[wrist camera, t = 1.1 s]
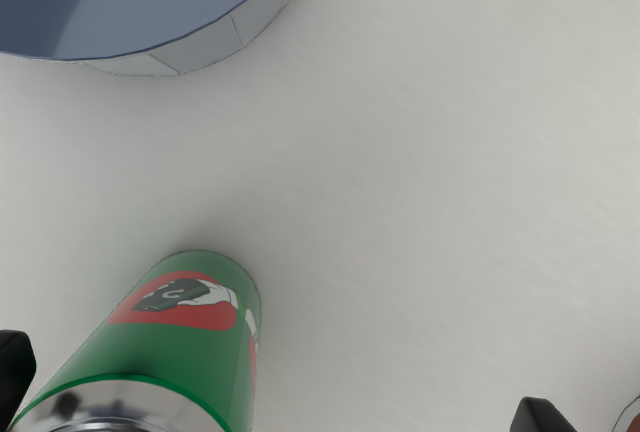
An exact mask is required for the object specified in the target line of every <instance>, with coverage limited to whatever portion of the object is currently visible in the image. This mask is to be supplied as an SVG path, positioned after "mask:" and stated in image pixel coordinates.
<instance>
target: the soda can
mask: <svg viewBox="0 0 640 432" xmlns="http://www.w3.org/2000/svg"><path fill="white" fill-rule="evenodd" d="M260 320H261V303H260V297H259V294H258V291H257V288H256V286H255V284H254V282H253V280H252V279H251V277H250V276H249V275H248V274H247V272H246V271H245V270H244V269H243V268H242V267H241V266H240V265H239V264H237V263H236V262H234V261H233V260H231V259H230V258H227V257H225V256H223V255H221V254H218V253H214V252H210V251H203V250H190V251H184V252H179V253H176V254H173V255H171V256H169V257H167V258H165V259H163V260H161V261H160V262H159V263H157V264H156V265H154V266H153V267H152V268H151V269H150V270H149V271H148V272H147V273H146V275H145V276H144V277H143V278H142V279H141V280H140V281H139V282H138V283H137V285H136V286H135V287H134V288H133V289H132V290H131V291H130V292H129V293H128V294H127V296H126V297H125V298H124V299H123V300H122V301H121V302H120V303H119V304H118V305H117V307H116V308H115V309H114V310H113V311H112V312H111V313H110V314H109V315H108V317H107V318H106V319H105V320H104V321H103V322H102V323H101V324H100V325H99V326H98V328H97V329H96V330H95V331H94V332H93V333H92V334H91V335H90V336H89V337H88V339H87V340H86V341H85V342H84V343H83V344H82V345H81V346H80V347H79V348H78V350H77V351H76V352H75V353H74V354H73V355H72V356H71V357H70V358H69V360H68V361H67V362H66V363H65V364H64V365H63V366H62V367H61V368H60V369H59V371H58V372H57V373H56V374H55V375H54V376H53V377H52V378H51V379H50V380H49V382H48V383H47V384H46V385H45V386H44V387H43V388H42V389H41V390H40V391H39V393H38V394H37V395H36V396H35V397H34V398H33V399H32V400H31V401H30V403H29V404H28V405H27V406H26V407H25V408H24V409H23V410H22V411H21V412H20V414H19V415H18V416H17V417H16V418H15V419H14V421H13V422H12V424H11V425H10V426H9V428H8V429H7V431H6V432H252V424H253V411H254V398H255V385H256V372H257V359H258V346H259V333H260Z"/></svg>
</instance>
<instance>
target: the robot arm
mask: <svg viewBox="0 0 640 432" xmlns="http://www.w3.org/2000/svg"><path fill="white" fill-rule="evenodd" d="M35 373H36V360H35V356H34V353H33V349H32V346H31V343H30V339H29V337H28V335H27V334H26V333H25V332H22V331H15V330H0V432H6V431H7V429H8V427H9V425H10V423H11V421H12V419H13V417H14V415H15V413H16V411H17V409H18V407H19V406H20V404H21V402H22V400H23V398H24V396H25V394H26V392H27V390H28V388H29V386H30V384H31V382H32V380H33V378H34V376H35ZM510 432H577V431H576V430H575V429H574V427H573V426H572V425H571V424H570V423H569V422H568V421H567V420H566V419H565V418H564V416H563V415H562V414H561V413H560V412H559V411H558V410H557V409H556V408H555V406H554V405H553V404H552V403H551V402H549V401H548V400H546V399H541V398H533V397H524V398H523V399H522V400H521V401H520V403H519V406H518V409H517V411H516V414H515V416H514V419H513V421H512V424H511V427H510Z"/></svg>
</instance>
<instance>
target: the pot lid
mask: <svg viewBox="0 0 640 432" xmlns="http://www.w3.org/2000/svg"><path fill="white" fill-rule="evenodd" d="M252 1H253V0H0V54H3V55H8V56H13V57H18V58H23V59H29V60H34V61H44V62H58V63H73V64H78V63H94V62H111V61H118V60H123V59H128V58H133V57H138V56H143V55H148V54H152V53H155V52H158V51H161V50H164V49H167V48H170V47H172V46H175V45H178V44H181V43H184V42H187V41H189V40H191V39H193V38H194V37H196V36H198V35H200V34H202V33H204V32H206V31H208V30H210V29H212V28H214V27H216V26H218V25H220V24H221V23H223V22H224V21H226V20H227V19H228V18H230V17H231V16H233V15H234V14H235V13H237V12H238V11H240V10H241V9H243V8H244V7H245V6H247V5H248V4H250V3H251V2H252Z"/></svg>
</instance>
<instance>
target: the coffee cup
mask: <svg viewBox="0 0 640 432" xmlns="http://www.w3.org/2000/svg"><path fill="white" fill-rule="evenodd" d="M613 432H640V397H639V398H638V399H637V400H635V401H634V402H633V403H632V404H631V405H630V406H629V407H628V408H626V409H625V410H624V412H623V413H622V415H621V417H620V419H619V421H618V423H617V424H616V426H615V428H614V430H613Z"/></svg>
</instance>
